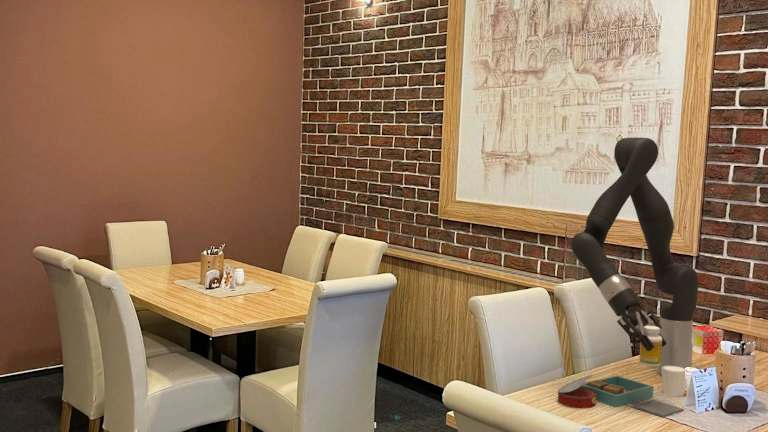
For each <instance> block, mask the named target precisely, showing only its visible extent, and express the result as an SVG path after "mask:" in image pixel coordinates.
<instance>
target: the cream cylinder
mask: <svg viewBox="0 0 768 432" xmlns="http://www.w3.org/2000/svg"><path fill="white" fill-rule="evenodd" d="M661 370H662V375H661V387H662V388H661V389H662V390H661V391H662V394H665V395H666V396H670V395H671V396H672V397H683V396H684V395H685V391H686V385H685V368H683V367H678V366H662V367H661ZM682 395H683V396H682ZM671 396H670V397H671Z"/></svg>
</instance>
